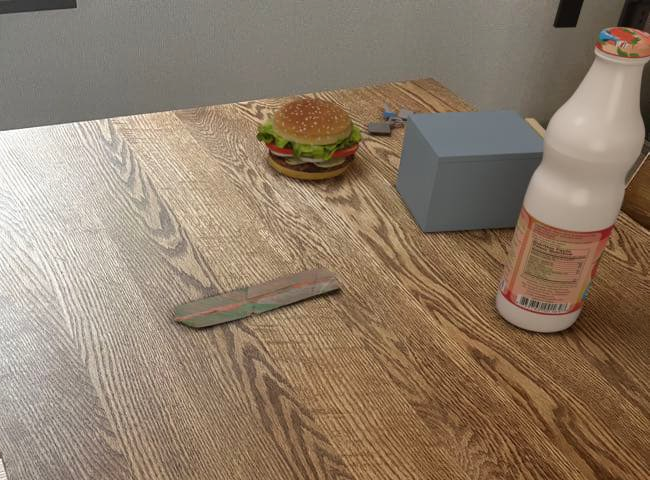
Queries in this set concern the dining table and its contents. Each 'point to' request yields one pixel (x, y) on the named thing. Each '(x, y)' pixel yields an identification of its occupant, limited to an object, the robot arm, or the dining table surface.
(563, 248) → the fruit juice
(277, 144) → the food
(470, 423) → the dining table surface
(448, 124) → the cabinet
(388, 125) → the key chain
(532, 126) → the drawer
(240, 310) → the map
